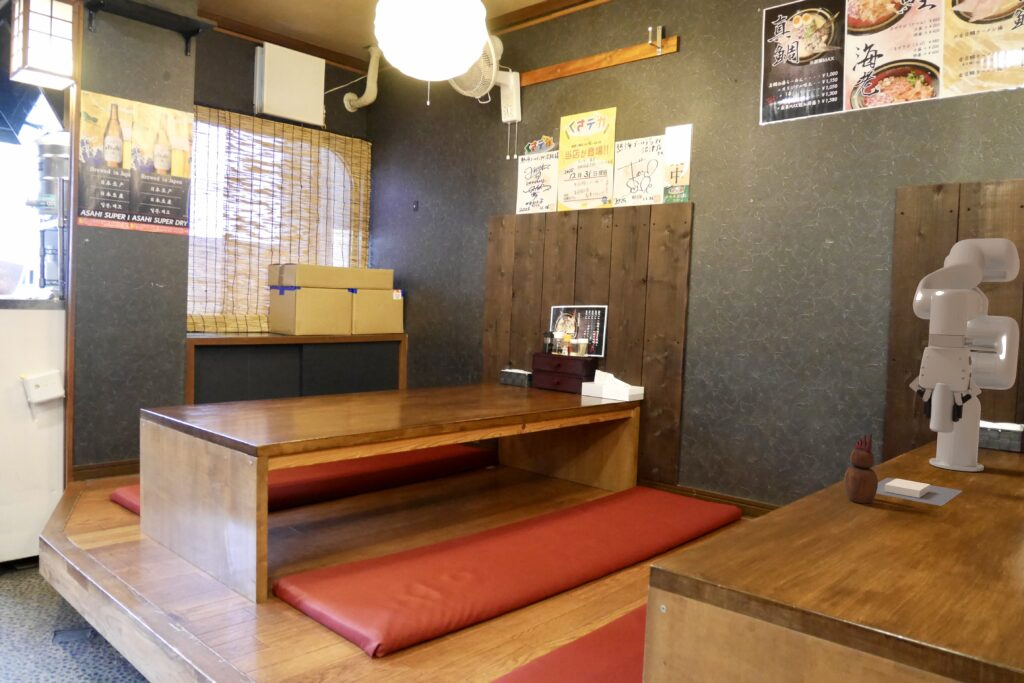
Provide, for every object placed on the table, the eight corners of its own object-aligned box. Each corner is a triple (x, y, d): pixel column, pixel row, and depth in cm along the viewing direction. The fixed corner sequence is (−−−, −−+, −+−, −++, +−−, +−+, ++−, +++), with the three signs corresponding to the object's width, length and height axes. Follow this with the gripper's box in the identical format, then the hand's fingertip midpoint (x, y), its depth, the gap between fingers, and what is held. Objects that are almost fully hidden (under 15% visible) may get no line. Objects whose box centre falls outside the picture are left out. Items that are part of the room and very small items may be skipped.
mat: (887, 479, 175) (887, 477, 175) (962, 492, 164) (962, 490, 164) (861, 492, 160) (861, 490, 160) (941, 507, 149) (941, 506, 149)
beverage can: (956, 433, 163) (960, 382, 162) (933, 432, 164) (937, 381, 163) (948, 429, 168) (952, 379, 167) (926, 428, 169) (929, 378, 168)
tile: (896, 478, 166) (884, 484, 160) (930, 484, 161) (919, 490, 155) (896, 485, 166) (884, 492, 160) (929, 491, 161) (919, 498, 155)
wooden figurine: (881, 506, 149) (885, 435, 148) (853, 505, 149) (857, 434, 148) (865, 497, 155) (869, 430, 155) (839, 496, 155) (843, 429, 155)
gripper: (994, 344, 161) (988, 423, 163) (911, 339, 173) (907, 413, 175) (986, 345, 156) (981, 427, 157) (902, 340, 168) (897, 416, 169)
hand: (942, 418), depth 166 cm, fingers closed on beverage can, 4 cm apart
